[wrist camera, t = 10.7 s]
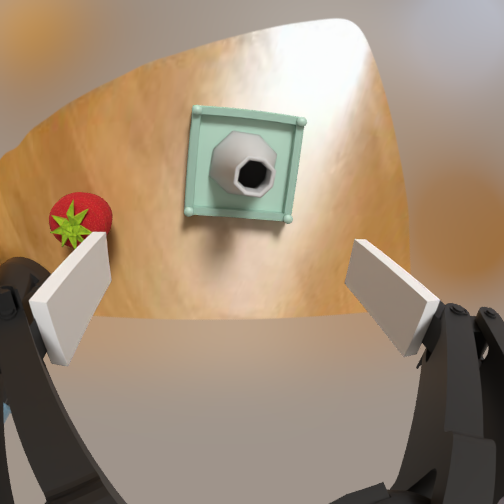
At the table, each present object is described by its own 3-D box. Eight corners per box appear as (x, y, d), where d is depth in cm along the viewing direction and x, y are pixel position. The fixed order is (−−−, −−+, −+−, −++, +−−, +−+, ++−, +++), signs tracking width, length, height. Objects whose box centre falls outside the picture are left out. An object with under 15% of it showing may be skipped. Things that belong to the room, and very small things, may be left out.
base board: (185, 210, 33) (182, 217, 30) (193, 106, 28) (191, 103, 26) (287, 218, 35) (292, 225, 32) (301, 118, 30) (308, 117, 28)
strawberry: (70, 184, 29) (25, 205, 20) (125, 182, 30) (91, 202, 21) (74, 230, 32) (35, 263, 23) (127, 230, 33) (98, 266, 24)
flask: (197, 178, 30) (189, 198, 21) (229, 119, 28) (234, 112, 19) (256, 207, 32) (272, 238, 23) (287, 150, 30) (318, 159, 21)
